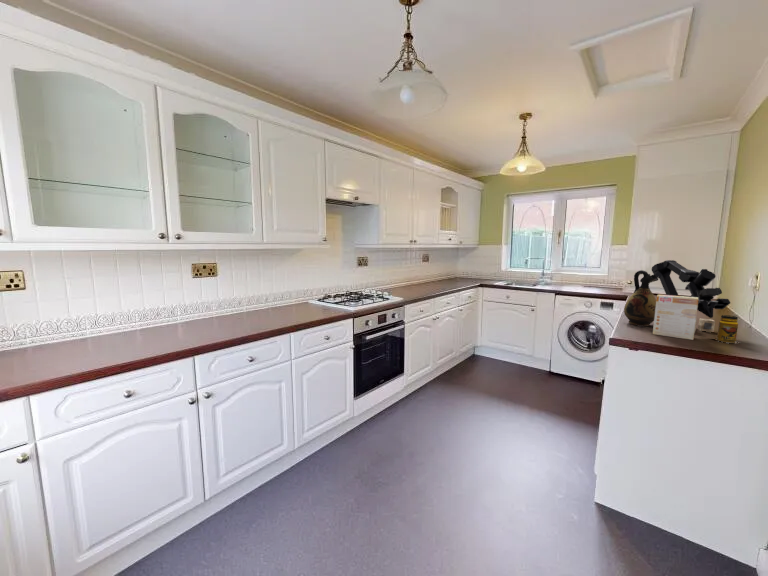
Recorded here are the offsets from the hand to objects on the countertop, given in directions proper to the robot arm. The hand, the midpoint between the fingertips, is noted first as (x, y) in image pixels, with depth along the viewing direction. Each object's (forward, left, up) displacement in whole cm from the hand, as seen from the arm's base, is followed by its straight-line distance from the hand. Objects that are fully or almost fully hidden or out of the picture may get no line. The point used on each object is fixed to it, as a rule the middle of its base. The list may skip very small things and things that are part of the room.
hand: (711, 317), depth 161 cm
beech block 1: (-8, +6, -9) cm, 14 cm away
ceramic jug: (-29, +6, -10) cm, 31 cm away
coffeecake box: (-12, -13, -10) cm, 20 cm away
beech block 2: (-2, +14, -9) cm, 17 cm away
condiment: (+5, -7, -10) cm, 13 cm away
